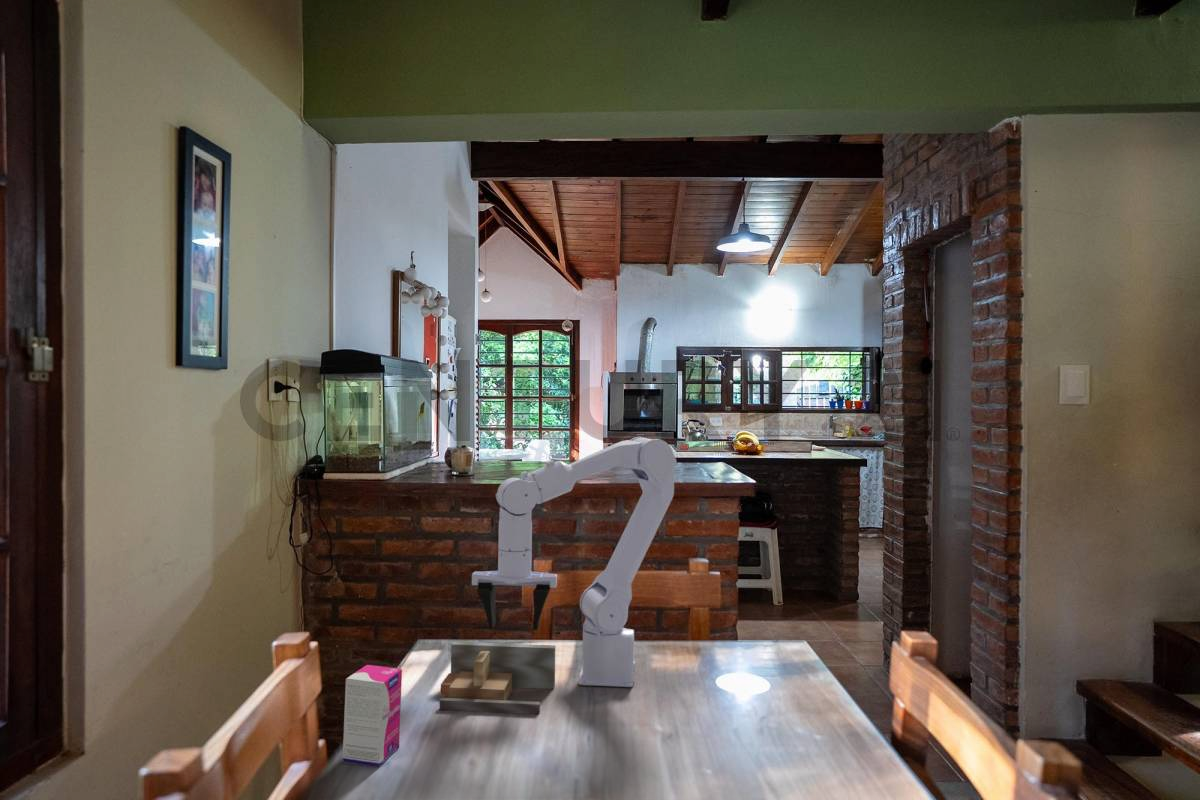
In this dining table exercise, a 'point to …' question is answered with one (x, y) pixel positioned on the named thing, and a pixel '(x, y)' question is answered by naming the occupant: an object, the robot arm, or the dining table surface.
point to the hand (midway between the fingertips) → (514, 627)
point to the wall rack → (522, 660)
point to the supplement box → (372, 715)
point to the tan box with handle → (481, 682)
